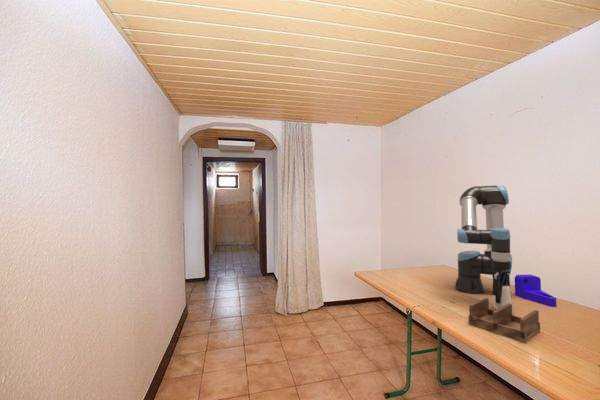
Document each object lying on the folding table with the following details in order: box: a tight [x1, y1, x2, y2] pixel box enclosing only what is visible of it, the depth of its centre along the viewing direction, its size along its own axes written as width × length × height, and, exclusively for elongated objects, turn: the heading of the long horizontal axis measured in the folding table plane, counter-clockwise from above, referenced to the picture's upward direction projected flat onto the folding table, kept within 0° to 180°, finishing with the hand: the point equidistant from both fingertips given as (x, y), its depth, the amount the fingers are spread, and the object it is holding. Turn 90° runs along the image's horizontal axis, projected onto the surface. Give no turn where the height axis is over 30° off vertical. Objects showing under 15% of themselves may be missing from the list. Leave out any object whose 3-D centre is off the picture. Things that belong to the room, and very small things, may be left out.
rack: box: [468, 297, 541, 344], centre depth 114 cm, size 20×16×8 cm
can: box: [493, 284, 511, 308], centre depth 131 cm, size 6×6×12 cm
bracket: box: [514, 274, 557, 308], centre depth 145 cm, size 18×11×12 cm, turn 1°
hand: (502, 307), depth 131 cm, fingers closed on can, 6 cm apart
